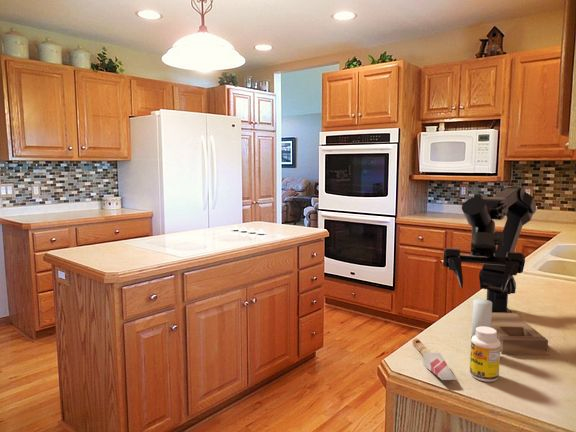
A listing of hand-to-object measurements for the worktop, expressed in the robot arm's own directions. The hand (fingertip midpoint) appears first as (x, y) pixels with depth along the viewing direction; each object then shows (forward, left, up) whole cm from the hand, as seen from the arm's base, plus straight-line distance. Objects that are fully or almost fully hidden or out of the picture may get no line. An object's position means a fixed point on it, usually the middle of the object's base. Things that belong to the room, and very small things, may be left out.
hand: (482, 289), depth 107 cm
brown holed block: (-2, +8, -13) cm, 15 cm away
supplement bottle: (+18, -5, -13) cm, 23 cm away
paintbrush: (+13, -15, -14) cm, 24 cm away
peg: (+7, -2, -13) cm, 15 cm away
